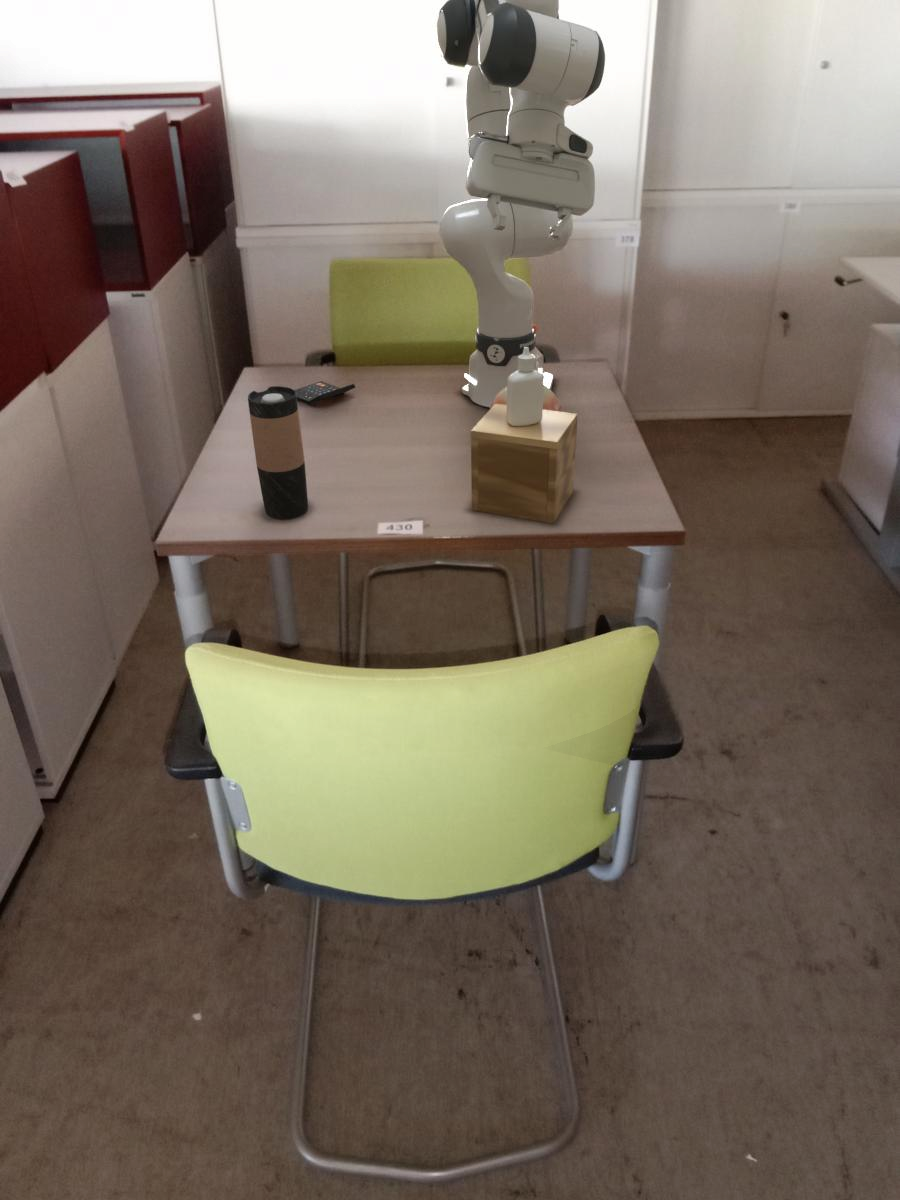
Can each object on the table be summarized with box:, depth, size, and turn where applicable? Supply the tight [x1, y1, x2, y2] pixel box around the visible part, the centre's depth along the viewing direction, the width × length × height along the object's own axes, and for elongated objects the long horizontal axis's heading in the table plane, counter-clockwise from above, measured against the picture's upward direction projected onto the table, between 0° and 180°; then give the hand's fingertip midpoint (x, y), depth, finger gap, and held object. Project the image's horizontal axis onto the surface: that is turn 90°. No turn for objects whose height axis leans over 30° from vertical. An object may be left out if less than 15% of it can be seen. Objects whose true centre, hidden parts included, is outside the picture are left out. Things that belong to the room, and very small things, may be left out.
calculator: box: [293, 380, 356, 406], centre depth 196 cm, size 9×12×3 cm
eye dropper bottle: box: [507, 347, 544, 426], centre depth 144 cm, size 4×6×12 cm
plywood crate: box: [470, 404, 578, 524], centre depth 151 cm, size 12×14×14 cm
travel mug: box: [247, 385, 309, 521], centre depth 149 cm, size 8×8×20 cm
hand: (527, 234), depth 144 cm, fingers open, 8 cm apart
